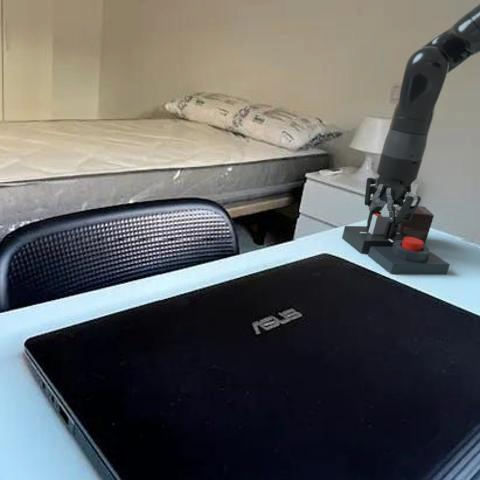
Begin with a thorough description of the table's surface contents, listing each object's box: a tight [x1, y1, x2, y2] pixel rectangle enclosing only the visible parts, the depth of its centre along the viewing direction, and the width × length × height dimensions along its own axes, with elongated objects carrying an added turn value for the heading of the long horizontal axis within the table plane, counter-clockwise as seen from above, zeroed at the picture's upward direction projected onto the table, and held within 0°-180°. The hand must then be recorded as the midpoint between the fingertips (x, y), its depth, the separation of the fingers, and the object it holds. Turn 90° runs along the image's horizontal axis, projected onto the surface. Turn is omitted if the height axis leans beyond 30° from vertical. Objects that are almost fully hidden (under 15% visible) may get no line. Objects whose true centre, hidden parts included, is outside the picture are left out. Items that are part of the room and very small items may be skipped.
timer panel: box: [341, 225, 409, 255], centre depth 106 cm, size 12×9×3 cm
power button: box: [402, 237, 424, 251], centre depth 97 cm, size 4×4×2 cm
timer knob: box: [368, 213, 389, 235], centre depth 105 cm, size 5×1×4 cm, turn 104°
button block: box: [367, 240, 451, 275], centre depth 98 cm, size 12×8×4 cm, turn 99°
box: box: [395, 204, 435, 246], centre depth 110 cm, size 6×6×7 cm
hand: (380, 232), depth 105 cm, fingers closed on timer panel, 5 cm apart
